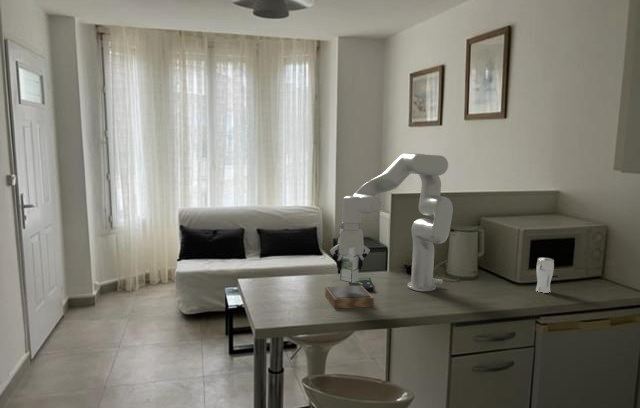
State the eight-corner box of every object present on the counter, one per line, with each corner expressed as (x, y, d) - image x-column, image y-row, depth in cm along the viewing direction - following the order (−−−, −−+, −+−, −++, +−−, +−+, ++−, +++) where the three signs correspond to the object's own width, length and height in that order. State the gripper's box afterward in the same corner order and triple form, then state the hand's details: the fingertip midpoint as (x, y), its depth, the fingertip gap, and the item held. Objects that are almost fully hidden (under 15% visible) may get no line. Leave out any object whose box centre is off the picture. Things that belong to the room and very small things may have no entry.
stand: (361, 293, 203) (361, 284, 202) (373, 306, 187) (373, 296, 187) (325, 295, 199) (325, 286, 199) (334, 308, 184) (334, 298, 183)
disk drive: (374, 293, 206) (370, 283, 220) (374, 287, 205) (370, 277, 220) (350, 293, 206) (348, 282, 220) (350, 286, 205) (348, 276, 220)
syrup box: (358, 279, 193) (359, 245, 191) (352, 283, 188) (353, 247, 186) (346, 277, 196) (347, 243, 194) (339, 280, 191) (340, 245, 189)
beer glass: (536, 293, 210) (539, 260, 208) (533, 288, 217) (535, 256, 215) (553, 294, 208) (556, 261, 207) (549, 290, 215) (552, 257, 213)
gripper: (332, 228, 184) (330, 272, 186) (374, 228, 188) (372, 271, 190) (327, 225, 191) (326, 267, 193) (368, 224, 195) (367, 266, 197)
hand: (349, 269), depth 192 cm, fingers closed on syrup box, 7 cm apart
